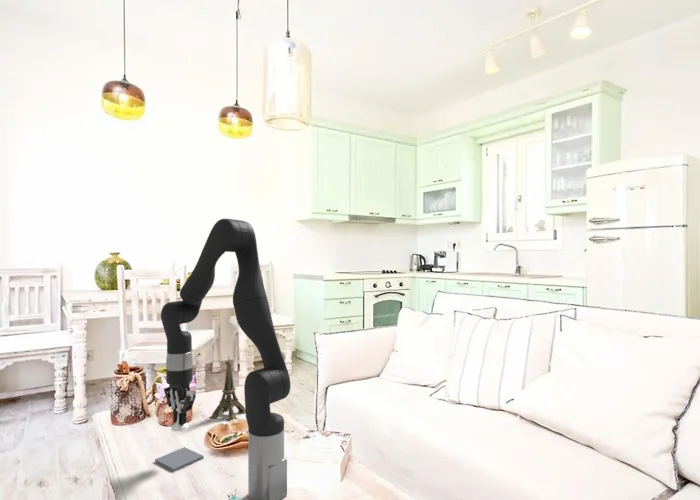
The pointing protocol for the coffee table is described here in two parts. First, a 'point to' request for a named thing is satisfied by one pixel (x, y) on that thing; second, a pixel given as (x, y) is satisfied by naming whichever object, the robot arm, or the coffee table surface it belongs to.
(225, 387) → the eiffel tower
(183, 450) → the slate tile
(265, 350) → the robot arm
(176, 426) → the chess piece
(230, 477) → the coffee table surface
